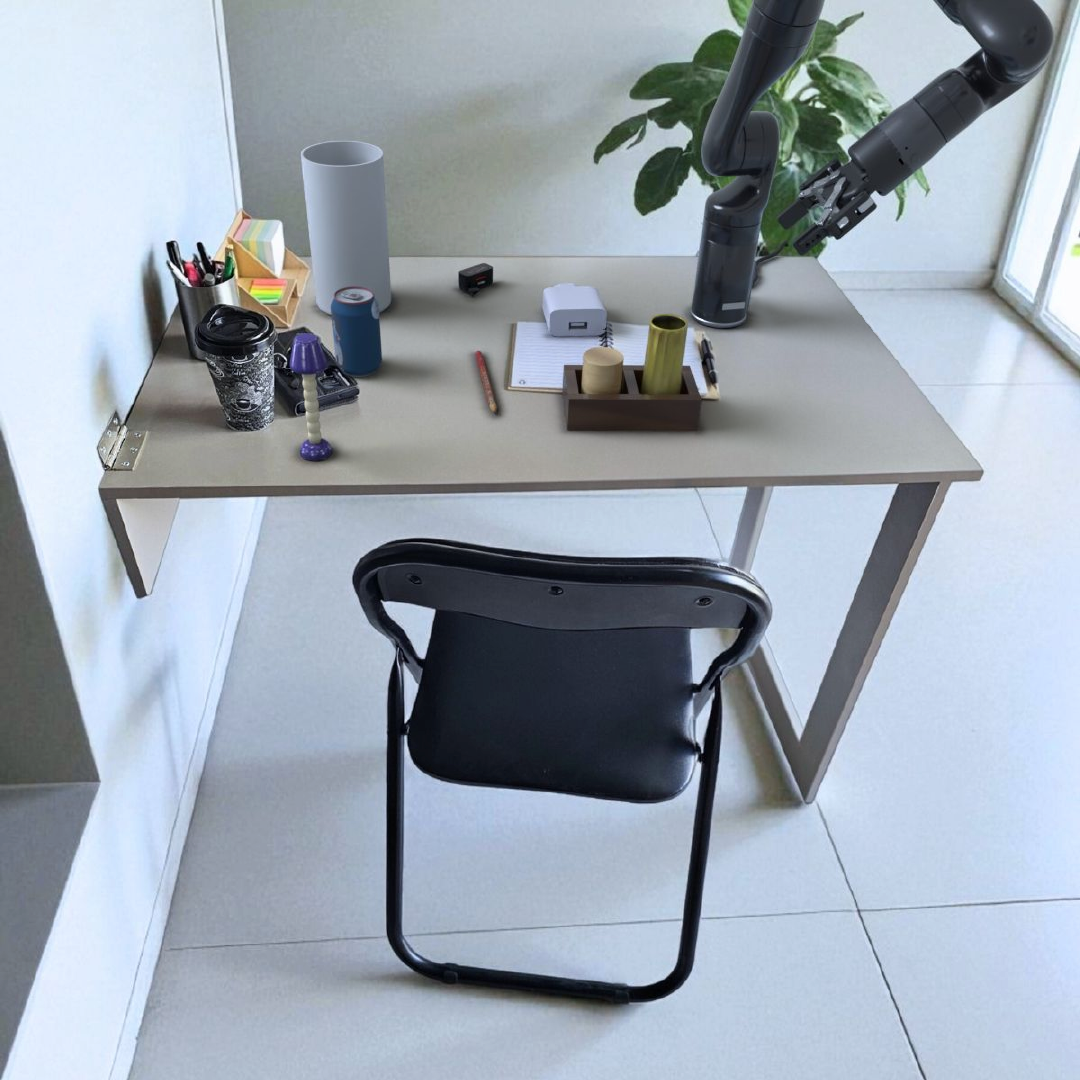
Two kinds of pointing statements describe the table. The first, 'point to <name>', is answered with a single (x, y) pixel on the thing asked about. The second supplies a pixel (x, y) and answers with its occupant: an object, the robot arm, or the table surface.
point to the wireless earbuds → (475, 278)
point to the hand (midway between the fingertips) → (788, 236)
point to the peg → (602, 371)
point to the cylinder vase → (347, 219)
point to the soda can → (356, 331)
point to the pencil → (486, 382)
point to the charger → (574, 310)
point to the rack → (630, 404)
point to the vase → (664, 355)
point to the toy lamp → (310, 392)
